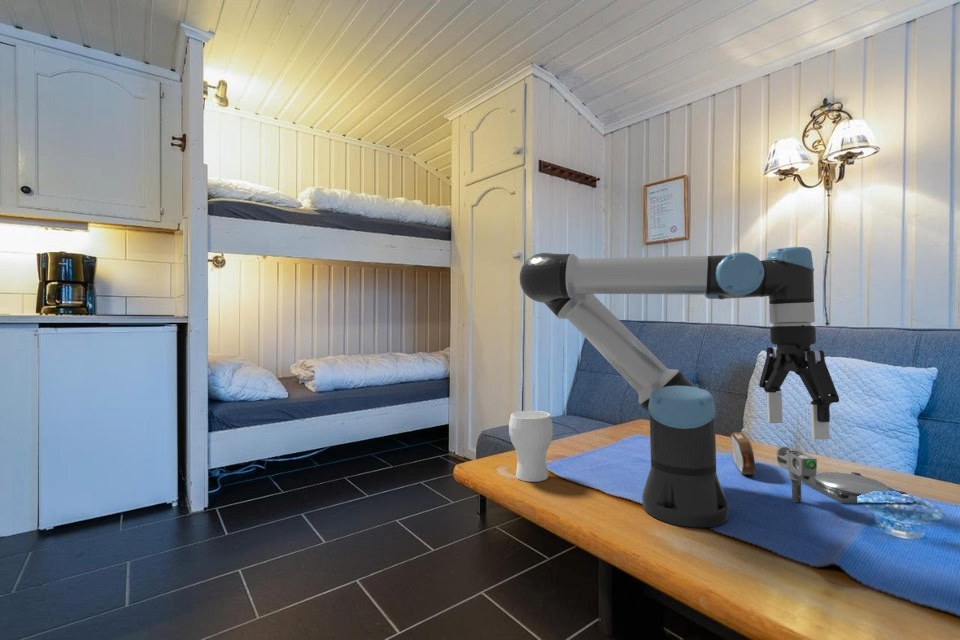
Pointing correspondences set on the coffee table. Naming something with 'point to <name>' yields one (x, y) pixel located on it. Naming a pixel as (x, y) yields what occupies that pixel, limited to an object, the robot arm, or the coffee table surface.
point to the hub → (845, 485)
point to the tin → (743, 453)
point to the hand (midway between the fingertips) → (796, 430)
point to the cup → (531, 443)
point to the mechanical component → (796, 468)
